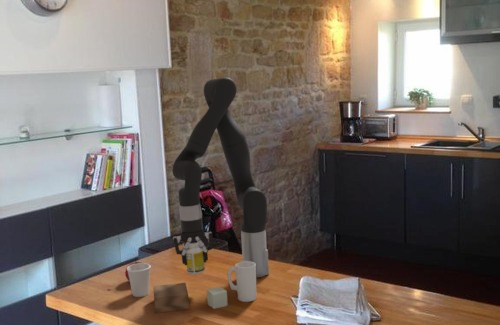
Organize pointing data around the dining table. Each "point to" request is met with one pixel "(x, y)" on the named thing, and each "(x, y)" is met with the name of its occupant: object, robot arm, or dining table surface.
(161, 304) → the walnut block
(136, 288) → the dixie cup
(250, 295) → the mug
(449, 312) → the dining table surface
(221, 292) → the sage block
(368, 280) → the dining table surface
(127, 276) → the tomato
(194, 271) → the pill bottle
